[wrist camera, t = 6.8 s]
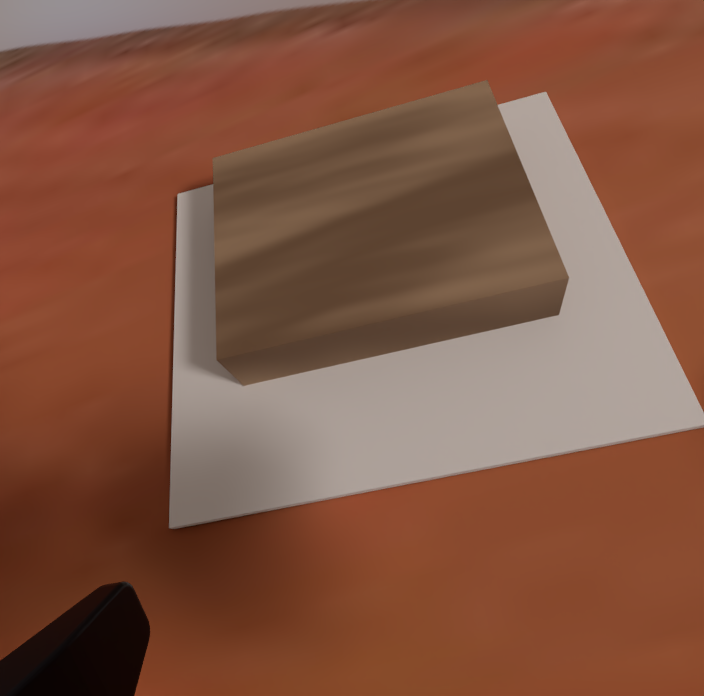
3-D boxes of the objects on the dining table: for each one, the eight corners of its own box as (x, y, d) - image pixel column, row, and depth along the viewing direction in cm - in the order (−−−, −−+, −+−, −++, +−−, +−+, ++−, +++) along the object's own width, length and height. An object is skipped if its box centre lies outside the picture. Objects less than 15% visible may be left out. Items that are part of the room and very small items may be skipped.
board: (569, 277, 17) (487, 80, 21) (216, 360, 18) (212, 158, 23) (559, 315, 19) (486, 127, 23) (243, 385, 20) (235, 196, 25)
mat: (705, 426, 16) (709, 423, 16) (173, 529, 18) (168, 528, 18) (545, 97, 24) (545, 91, 24) (180, 198, 26) (177, 193, 26)
